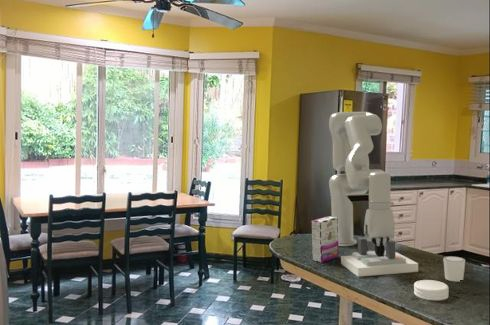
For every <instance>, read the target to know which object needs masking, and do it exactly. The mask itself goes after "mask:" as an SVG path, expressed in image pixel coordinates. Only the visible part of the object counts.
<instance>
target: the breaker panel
mask: <svg viewBox="0 0 490 325" xmlns="http://www.w3.org/2000/svg"><path fill="white" fill-rule="evenodd" d="M364 237H365V236H363V237H357V252H352V254H351V255H341V256H340V264H341V265H342V267H344V268H346V269H347V270H349V271H350V272H351V273H352V274H354V275H355V276H357V277H369V276H380V275H394V274H405V273H406V274H407V273H418V272H419V263H418V262H416V261H414V260H413V259H410V258H409V257H407V256H405V255H402V254H401V253H399V252H396V251H395V258H390V259H389V258H387V257H386V249H385V253H384V257H382V256H381V257H379V256H377V255H376V254H375V251H369V250H368V246H367V240H365V238H364Z"/></svg>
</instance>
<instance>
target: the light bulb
mask: <svg viewBox="0 0 490 325" xmlns="http://www.w3.org/2000/svg"><path fill="white" fill-rule="evenodd" d="M363 237H364V238H365V237H366V235H365V234H364V236H363ZM379 241H380V238H379ZM367 250H368V252H369V251H375V244H374V243H373V242H372V241H367Z"/></svg>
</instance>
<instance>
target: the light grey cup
mask: <svg viewBox="0 0 490 325" xmlns="http://www.w3.org/2000/svg"><path fill="white" fill-rule="evenodd" d="M465 265H466V259H465V258H463V257H459V256H452V255H451V256H444V257H443V268H444V278H445V280H446V281H447V280H448V281H449V282H450V281H451V282H461V281H460V280H464V273H465Z"/></svg>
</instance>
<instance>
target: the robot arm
mask: <svg viewBox="0 0 490 325" xmlns="http://www.w3.org/2000/svg"><path fill="white" fill-rule="evenodd" d="M328 121H329V122H328V126H329V127H328V128H329V131H330V134H331V138H332V166H333V169H334V170H335V171H338V172H345V173H337V174H334V175H332V176H330V178H329V181H328V185H329V186H328V187H329V192H330V201H331V202H330V203H331V217H336V218H338V247H353V246H355V245H358V240H356V239H355V238H354V205H353V202H352V201H351V200H350V199H349V197H348V196H351V195H353V196H354V195H364V194H366V193H367V192H368V208H367V209H366V210H365V216H364V225H363V234H364V237H365V235H366V237H365V240H367V241H372V242H373V243H374V244H375V254H376V255H377V256H379V257H381V256H382V257H384V253H385V250H386V243H387V242H388V241H389V240H394V239H395V230H396V228H395V227H396V226H395V217H394V212H393V209H392V207H393V206H395V203H394V201H392V200H391V174H390V173H389V172H387V171H384V170H382V169H378V168H377V169H376V168H375V169H370V158H369V154H370V153H372V151H373V149H374V142H373V140H372V136H379V135H380V134H381V133H382V130H383V123H382V120H381V118H380V117H379V116H378V115H377V114H375V113H372V112H370V111H340V112H339V111H338V112H335V113H332V114H331V115H330V117H329V119H328ZM379 238H380V240H379Z"/></svg>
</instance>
